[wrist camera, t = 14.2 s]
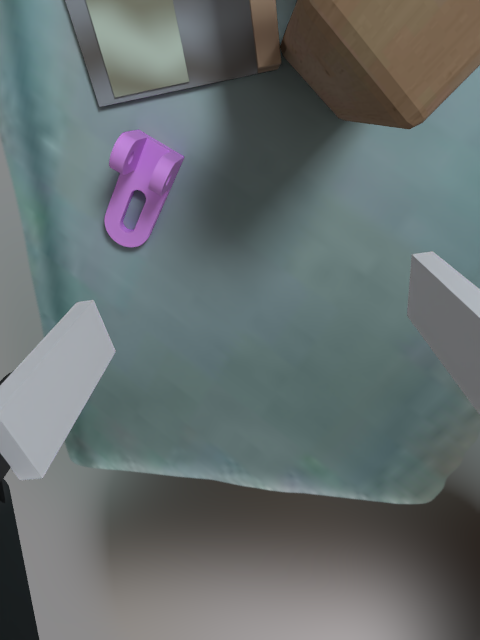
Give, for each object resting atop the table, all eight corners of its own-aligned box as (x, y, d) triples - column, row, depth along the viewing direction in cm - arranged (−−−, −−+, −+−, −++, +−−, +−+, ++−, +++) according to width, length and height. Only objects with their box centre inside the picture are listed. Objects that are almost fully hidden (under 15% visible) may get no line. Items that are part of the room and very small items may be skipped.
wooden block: (275, 48, 35) (294, -9, 18) (354, -61, 31) (479, -273, 14) (342, 124, 38) (414, 137, 21) (423, 34, 34) (595, -42, 17)
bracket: (139, 129, 39) (117, 133, 33) (184, 156, 40) (172, 165, 34) (102, 230, 45) (79, 248, 39) (143, 251, 46) (126, 272, 40)
